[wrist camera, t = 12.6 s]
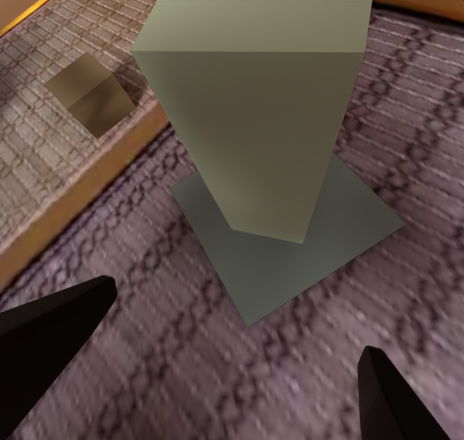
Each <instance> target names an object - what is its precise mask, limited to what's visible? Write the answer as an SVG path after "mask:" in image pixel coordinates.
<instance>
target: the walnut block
mask: <svg viewBox="0 0 464 440" xmlns="http://www.w3.org/2000/svg"><path fill="white" fill-rule="evenodd" d="M45 86H46V87H47V88H48V89H49V90H50V91H51V92H52V94H53V95H54V96H55V97H56V98H57V99H58V100H59V102H60V103H61V104H62V105H63V106H64V107H65V108H66V109H67V110H68V111H69V112H70V113H71V114H72V115H73V116H74V117H75V118H76V119H77V120H78V121H79V122H80V123H81V124H82V125H83V126H84V127H85V128H86V129H87V130H88V131H89V132H90V133H92V134H93V135H94V136H95V137H96V138H97V139H99V138H100V137H101V136H102V135H104V134H105V133H106V132H107V131H109V130H110V129H111V128H112V127H114V126H115V125H116V124H117V123H118V122H120V121H121V120H122V119H123V118H125V117H126V116H127V115H128V114H129V113H131V112H132V111H133V110H134V109H136V106H135V105H134V104H133V102H132V101H131V99H130V98H129V96H128V95H127V93H126V92H125V91H124V89H123V88H122V86H121V85H120V83H119V82H118V81H117V79H116V78H115V76H114V75H113V73H111V72H110V71H109V70H108V69H107V68H106V67H104V66H103V65H102V64H101V63H100V62H99V61H97V60H96V59H95V58H94V57H93V56H92V55H90V54H89V53H88V52H86V53H84V54H83V55H82V56H81V57H79V58H78V59H77V60H75V61H74V62H73V63H71V64H70V65H69V66H67V67H66V68H65V69H63V70H62V71H61V72H59V73H58V74H57V75H55V76H54V77H53V78H51V79H50V80H49V81H47V82H46V83H45Z"/></svg>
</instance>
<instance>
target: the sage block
mask: <svg viewBox="0 0 464 440" xmlns="http://www.w3.org/2000/svg"><path fill="white" fill-rule="evenodd" d="M371 3H372V0H157V2H156V4H155V6H154V8H153V10H152V11H151V13H150V15H149V17H148V19H147V21H146V22H145V24H144V26H143V28H142V30H141V32H140V33H139V35H138V37H137V39H136V41H135V43H134V45H133V46H132V48H131V50H130V52H131V53H132V55H133V57H134V59H135V60H136V62H137V64H138V66H139V67H140V69H141V71H142V73H143V75H144V76H145V78H146V80H147V82H148V83H149V85H150V87H151V89H152V90H153V92H154V94H155V96H156V97H157V99H158V101H159V103H160V104H161V106H162V108H163V110H164V111H165V113H166V115H167V117H168V118H169V120H170V122H171V124H172V126H173V127H174V129H175V131H176V133H177V134H178V136H179V138H180V140H181V141H182V143H183V145H184V147H185V148H186V150H187V152H188V154H189V155H190V157H191V159H192V161H193V162H194V164H195V166H196V168H197V170H198V171H199V173H200V175H201V177H202V178H203V180H204V182H205V184H206V185H207V187H208V189H209V191H210V192H211V194H212V196H213V198H214V199H215V201H216V203H217V205H218V206H219V208H220V210H221V212H222V213H223V215H224V217H225V219H226V221H227V222H228V224H229V226H230V228H231V229H232V230H236V231H241V232H246V233H251V234H256V235H261V236H266V237H271V238H276V239H281V240H286V241H291V242H296V243H300V244H303V242H304V239H305V236H306V232H307V229H308V226H309V223H310V220H311V217H312V214H313V211H314V208H315V205H316V202H317V199H318V196H319V192H320V189H321V186H322V183H323V180H324V177H325V174H326V171H327V168H328V165H329V162H330V159H331V156H332V153H333V149H334V146H335V143H336V140H337V137H338V134H339V131H340V128H341V125H342V122H343V119H344V116H345V113H346V109H347V106H348V103H349V100H350V97H351V94H352V91H353V88H354V85H355V82H356V79H357V76H358V73H359V69H360V66H361V63H362V60H363V57H364V54H365V49H366V41H367V34H368V26H369V19H370V11H371Z"/></svg>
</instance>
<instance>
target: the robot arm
mask: <svg viewBox="0 0 464 440" xmlns="http://www.w3.org/2000/svg"><path fill="white" fill-rule="evenodd" d="M116 298H117V288H116V283H115V279H114V278H113V277H110V276H106V275H102V276H99V277H97V278H94V279H91V280H88V281H86V282H83V283H80V284H77V285H75V286H72V287H69V288H67V289H64V290H61V291H58V292H56V293H53V294H50V295H47V296H45V297H42V298H39V299H37V300H34V301H31V302H28V303H26V304H23V305H20V306H17V307H15V308H12V309H9V310H7V311H4V312H1V313H0V440H7V439H8V437H9V436H10V435H11V434H12V432H13V431H14V430H15V429H16V428H17V426H18V425H19V424H20V423H21V421H22V420H23V419H24V418H25V416H26V415H27V414H28V413H29V412H30V410H31V409H32V408H33V407H34V405H35V404H36V403H37V402H38V400H39V399H40V398H41V397H42V396H43V394H44V393H45V392H46V391H47V389H48V388H49V387H50V386H51V384H52V383H53V382H54V381H55V380H56V378H57V377H58V376H59V375H60V373H61V372H62V371H63V370H64V369H65V367H66V366H67V365H68V364H69V362H70V361H71V360H72V359H73V357H74V356H75V355H76V354H77V353H78V351H79V350H80V349H81V348H82V346H83V345H84V344H85V343H86V341H87V340H88V339H89V338H90V336H91V335H92V334H93V332H94V331H95V329H96V328H97V327H98V325H99V324H100V322H101V321H102V319H103V318H104V316H105V315H106V313H107V312H108V310H109V309H110V307H111V306H112V304H113V303H114V302H115V300H116ZM358 391H359V411H360V428H361V435H362V440H451V439H450V438H449V437H448V435H447V434H446V433H445V431H444V430H443V429H442V427H441V426H440V425H439V424H438V422H437V421H436V420H435V418H434V417H433V416H432V414H431V413H430V412H429V410H428V409H427V408H426V406H425V405H424V404H423V402H422V401H421V400H420V399H419V397H418V396H417V395H416V393H415V392H414V391H413V389H412V388H411V387H410V385H409V384H408V383H407V381H406V380H405V379H404V378H403V376H402V375H401V374H400V372H399V371H398V370H397V368H396V367H395V366H394V364H393V363H392V362H391V360H390V359H389V358H388V357H387V355H386V354H385V353H384V351H383V350H381V349H380V348H376V347H372V346H365V348H364V350H363V353H362V355H361V357H360V360H359V363H358Z"/></svg>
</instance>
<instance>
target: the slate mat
mask: <svg viewBox="0 0 464 440" xmlns="http://www.w3.org/2000/svg"><path fill="white" fill-rule="evenodd" d="M170 190H171V192H172V194H173V195H174V197H175V199H176V201H177V202H178V204H179V206H180V208H181V210H182V211H183V213H184V215H185V217H186V219H187V220H188V222H189V224H190V226H191V228H192V229H193V231H194V233H195V235H196V236H197V238H198V240H199V242H200V244H201V245H202V247H203V249H204V251H205V253H206V254H207V256H208V258H209V260H210V261H211V263H212V265H213V267H214V269H215V270H216V272H217V274H218V276H219V278H220V279H221V281H222V283H223V285H224V287H225V288H226V290H227V292H228V294H229V295H230V297H231V299H232V301H233V303H234V304H235V306H236V308H237V310H238V312H239V313H240V315H241V317H242V319H243V320H244V322H245V324H246V326H247V328H248V327H249V326H251V325H253V324H254V323H256V322H257V321H259V320H260V319H262V318H263V317H265V316H266V315H268V314H269V313H271V312H272V311H274V310H276V309H277V308H279V307H280V306H282V305H283V304H285V303H286V302H288V301H289V300H291V299H292V298H294V297H296V296H297V295H299V294H300V293H302V292H303V291H305V290H306V289H308V288H309V287H311V286H312V285H314V284H315V283H317V282H319V281H320V280H322V279H323V278H325V277H326V276H328V275H329V274H331V273H332V272H334V271H335V270H337V269H338V268H340V267H342V266H343V265H345V264H346V263H348V262H349V261H351V260H352V259H354V258H355V257H357V256H358V255H360V254H361V253H363V252H365V251H366V250H368V249H369V248H371V247H372V246H374V245H375V244H377V243H378V242H380V241H381V240H383V239H385V238H386V237H388V236H389V235H391V234H392V233H394V232H395V231H397V230H398V229H400V228H401V227H403V226H404V225H406V223H405V222H404V221H403V220H402V219H401V218H400V217H399V216H398V215H397V214H396V213H395V212H394V211H393V210H392V209H391V208H390V207H389V206H388V205H387V204H386V203H385V202H384V201H383V200H382V199H381V198H380V197H378V196H377V195H376V194H375V193H374V192H373V191H372V190H371V189H370V188H369V187H368V186H367V185H366V184H365V183H364V182H363V181H362V180H361V179H360V178H359V177H358V176H357V175H356V174H355V173H354V172H353V171H352V170H351V169H350V168H349V167H348V166H347V165H346V164H345V163H344V162H343V161H342V160H341V159H340V158H339V157H338V156H337V155H336V154H335V153H334V152H333V153H332V156H331V159H330V162H329V165H328V168H327V171H326V174H325V177H324V180H323V183H322V186H321V189H320V192H319V196H318V199H317V202H316V205H315V208H314V211H313V214H312V217H311V220H310V223H309V226H308V229H307V232H306V236H305V239H304V242H303V244H300V243H296V242H291V241H286V240H281V239H276V238H271V237H266V236H261V235H256V234H251V233H246V232H241V231H236V230H232V229H231V228H230V226H229V224H228V222H227V221H226V219H225V217H224V215H223V213H222V212H221V210H220V208H219V206H218V205H217V203H216V201H215V199H214V198H213V196H212V194H211V192H210V191H209V189H208V187H207V185H206V184H205V182H204V180H203V178H202V177H201V175H200V173H199V171H196V172H195V173H193V174H191V175H190V176H188V177H187V178H185V179H183V180H182V181H180V182H178V183H177V184H175V185H174V186H172V187H170Z"/></svg>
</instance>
